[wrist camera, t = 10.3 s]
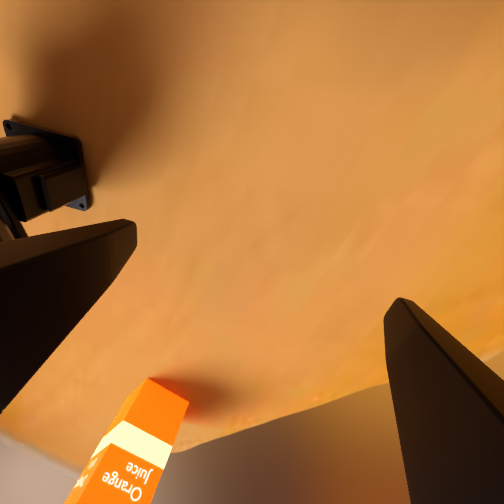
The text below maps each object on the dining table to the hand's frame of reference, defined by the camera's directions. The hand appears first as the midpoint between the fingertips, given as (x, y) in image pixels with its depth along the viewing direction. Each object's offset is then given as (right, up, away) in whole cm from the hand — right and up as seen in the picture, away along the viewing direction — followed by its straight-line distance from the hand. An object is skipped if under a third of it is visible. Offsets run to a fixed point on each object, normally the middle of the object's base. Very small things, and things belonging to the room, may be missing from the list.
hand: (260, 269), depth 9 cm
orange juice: (-15, -23, +33) cm, 43 cm away
